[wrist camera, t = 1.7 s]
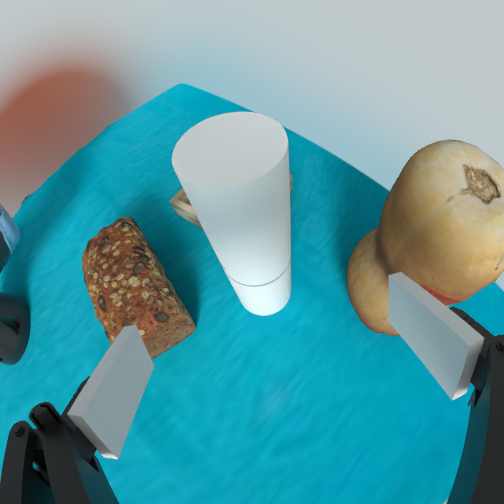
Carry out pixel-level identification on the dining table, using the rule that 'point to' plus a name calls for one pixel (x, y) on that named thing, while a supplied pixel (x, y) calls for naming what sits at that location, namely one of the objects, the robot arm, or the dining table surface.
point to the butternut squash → (433, 232)
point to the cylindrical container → (242, 201)
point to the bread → (133, 288)
